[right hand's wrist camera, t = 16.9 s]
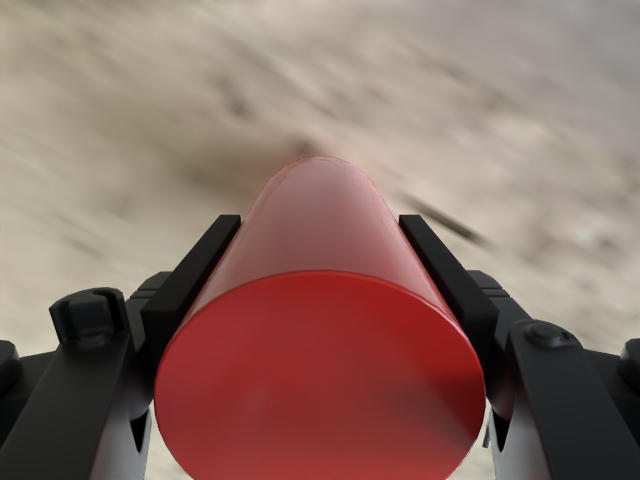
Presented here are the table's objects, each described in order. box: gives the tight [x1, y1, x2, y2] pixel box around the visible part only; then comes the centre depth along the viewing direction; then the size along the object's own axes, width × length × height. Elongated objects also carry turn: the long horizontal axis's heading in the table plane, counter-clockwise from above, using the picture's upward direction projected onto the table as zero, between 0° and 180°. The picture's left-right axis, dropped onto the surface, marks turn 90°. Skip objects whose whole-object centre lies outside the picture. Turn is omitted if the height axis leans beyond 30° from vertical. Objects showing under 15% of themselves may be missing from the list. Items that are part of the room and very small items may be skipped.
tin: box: [153, 156, 486, 480], centre depth 12 cm, size 6×6×11 cm
